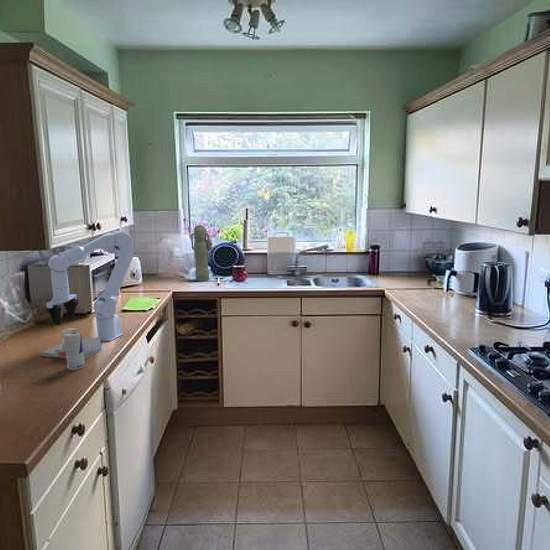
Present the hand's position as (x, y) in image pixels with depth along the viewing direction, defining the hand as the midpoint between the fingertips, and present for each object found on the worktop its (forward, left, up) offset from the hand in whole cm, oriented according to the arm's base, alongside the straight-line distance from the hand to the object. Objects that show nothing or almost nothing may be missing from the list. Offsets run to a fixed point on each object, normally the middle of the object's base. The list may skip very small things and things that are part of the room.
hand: (64, 321), depth 186 cm
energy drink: (+18, +18, -10) cm, 28 cm away
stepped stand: (+6, +7, -10) cm, 14 cm away
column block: (+6, +7, -7) cm, 12 cm away
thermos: (-134, -3, -10) cm, 134 cm away
